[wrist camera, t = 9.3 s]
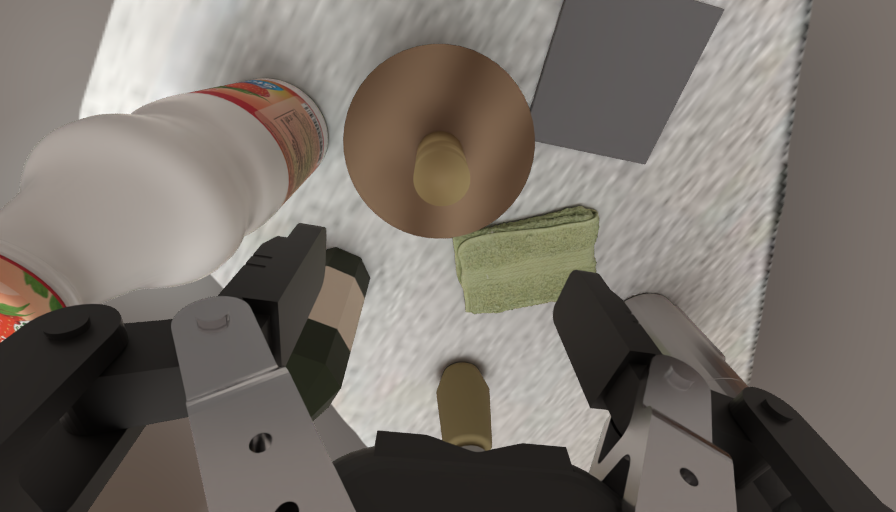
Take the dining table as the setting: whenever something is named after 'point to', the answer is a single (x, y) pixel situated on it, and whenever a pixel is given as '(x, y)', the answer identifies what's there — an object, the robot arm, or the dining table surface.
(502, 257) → the washcloth
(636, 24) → the mat
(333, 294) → the wine bottle
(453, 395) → the squeeze bottle
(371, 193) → the lid
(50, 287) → the fruit juice
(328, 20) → the dining table surface
